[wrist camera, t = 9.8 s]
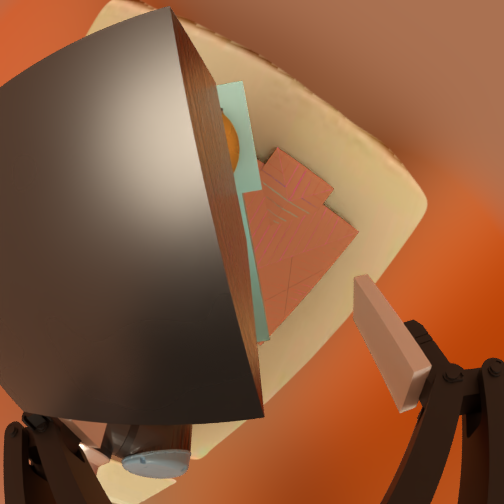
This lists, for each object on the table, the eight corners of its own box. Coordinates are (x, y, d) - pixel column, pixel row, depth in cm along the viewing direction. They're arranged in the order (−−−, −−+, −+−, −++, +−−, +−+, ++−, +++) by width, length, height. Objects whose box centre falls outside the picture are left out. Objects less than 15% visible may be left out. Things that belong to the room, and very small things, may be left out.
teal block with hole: (275, 295, 21) (286, 342, 17) (210, 306, 21) (205, 355, 17) (240, 91, 15) (242, 80, 11) (159, 109, 15) (131, 108, 11)
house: (362, 210, 45) (384, 229, 37) (246, 347, 56) (248, 379, 48) (240, 122, 38) (241, 124, 31) (137, 294, 49) (123, 323, 42)
